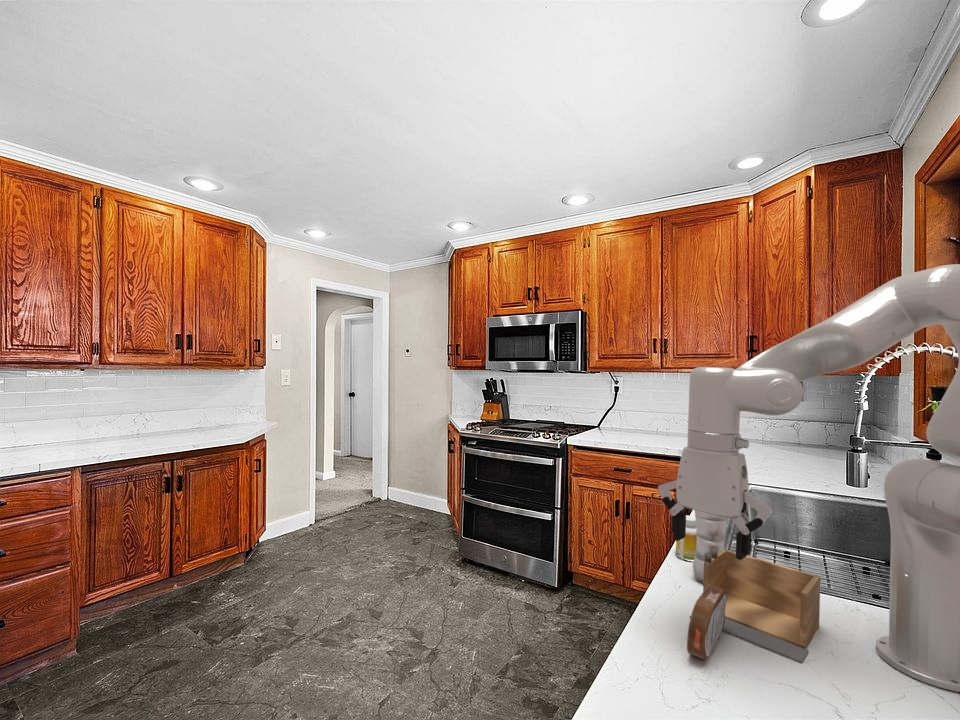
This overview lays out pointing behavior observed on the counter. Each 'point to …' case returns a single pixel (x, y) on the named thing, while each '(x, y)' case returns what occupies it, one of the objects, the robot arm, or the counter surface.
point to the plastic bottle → (707, 539)
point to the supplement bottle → (688, 540)
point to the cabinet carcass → (766, 595)
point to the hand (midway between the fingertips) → (709, 547)
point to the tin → (706, 622)
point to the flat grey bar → (765, 641)
